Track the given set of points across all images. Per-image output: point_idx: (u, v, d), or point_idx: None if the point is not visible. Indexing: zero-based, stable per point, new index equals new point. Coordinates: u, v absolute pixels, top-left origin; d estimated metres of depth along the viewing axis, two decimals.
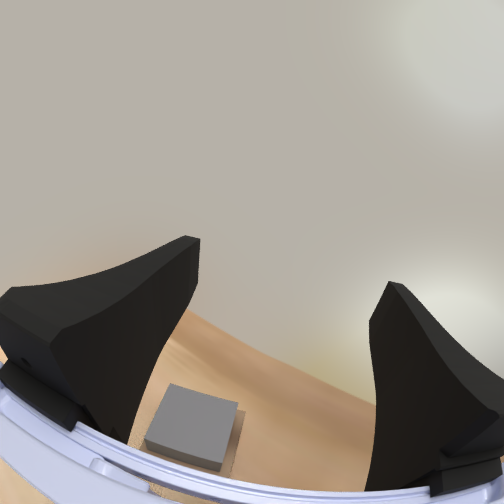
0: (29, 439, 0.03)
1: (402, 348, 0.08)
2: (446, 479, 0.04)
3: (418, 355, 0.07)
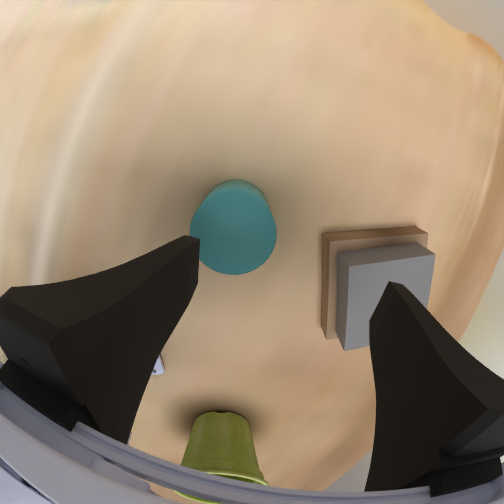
0: (29, 439, 0.03)
1: (401, 348, 0.08)
2: (446, 479, 0.04)
3: (418, 355, 0.07)
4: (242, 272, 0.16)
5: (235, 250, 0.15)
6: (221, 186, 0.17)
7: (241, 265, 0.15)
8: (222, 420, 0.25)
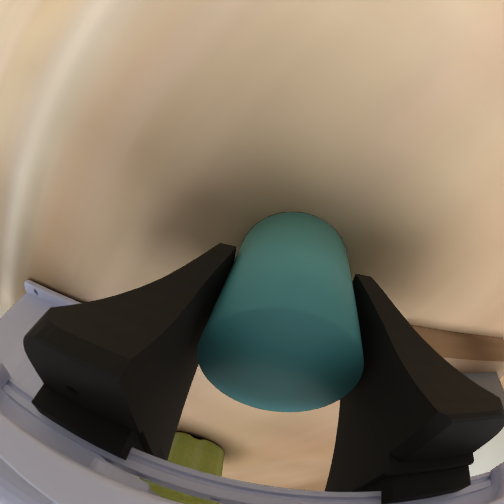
0: (29, 439, 0.03)
1: (363, 343, 0.08)
2: (398, 486, 0.04)
3: (377, 350, 0.07)
4: (273, 410, 0.08)
5: (273, 388, 0.08)
6: (285, 240, 0.09)
7: (275, 404, 0.08)
8: (195, 449, 0.21)
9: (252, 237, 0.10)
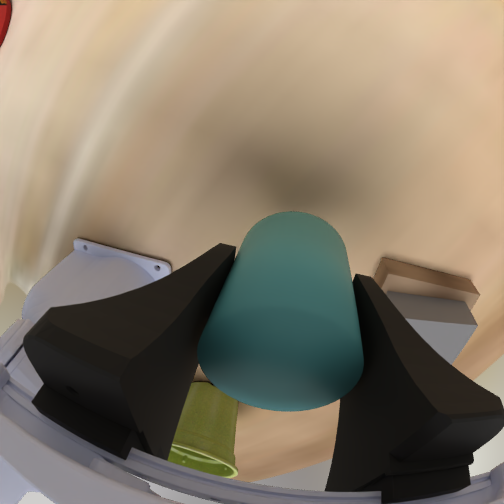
0: (29, 439, 0.03)
1: (364, 342, 0.08)
2: (398, 486, 0.04)
3: (377, 349, 0.07)
4: (273, 409, 0.08)
5: (273, 387, 0.08)
6: (285, 240, 0.09)
7: (275, 403, 0.08)
8: (214, 395, 0.26)
9: (252, 237, 0.10)
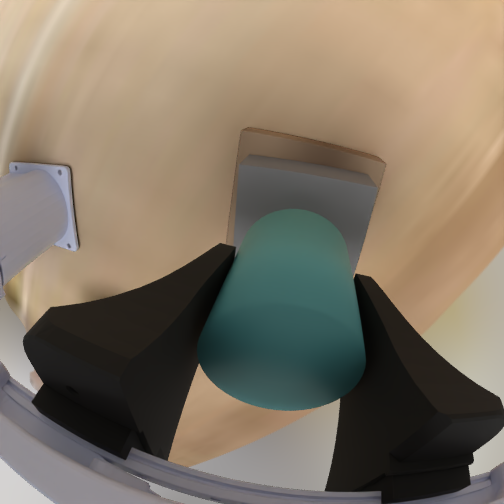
0: (29, 439, 0.03)
1: (364, 342, 0.08)
2: (398, 486, 0.04)
3: (377, 349, 0.07)
4: (276, 408, 0.08)
5: (274, 386, 0.07)
6: (284, 237, 0.09)
7: (277, 402, 0.08)
8: None
9: (251, 235, 0.10)
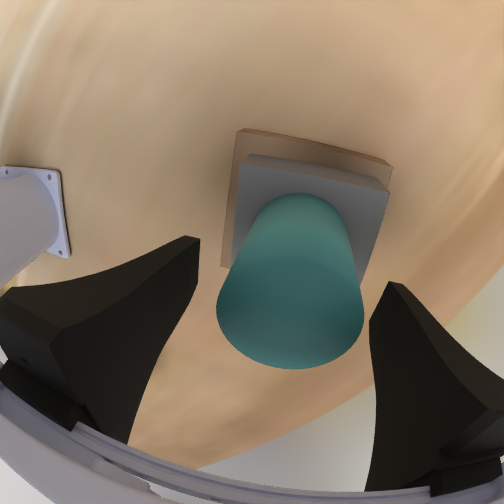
0: (29, 439, 0.03)
1: (402, 348, 0.08)
2: (446, 479, 0.04)
3: (418, 355, 0.07)
4: (284, 367, 0.09)
5: (284, 341, 0.09)
6: (291, 212, 0.10)
7: (286, 360, 0.09)
8: None
9: (262, 213, 0.11)
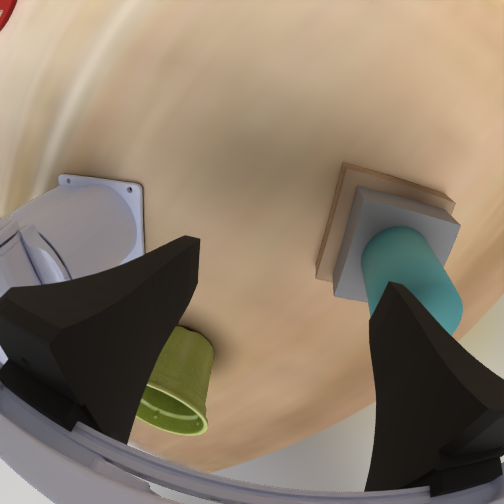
0: (29, 439, 0.03)
1: (402, 348, 0.08)
2: (446, 479, 0.04)
3: (418, 355, 0.07)
4: None
5: None
6: (412, 246, 0.13)
7: None
8: (186, 338, 0.26)
9: (384, 242, 0.14)
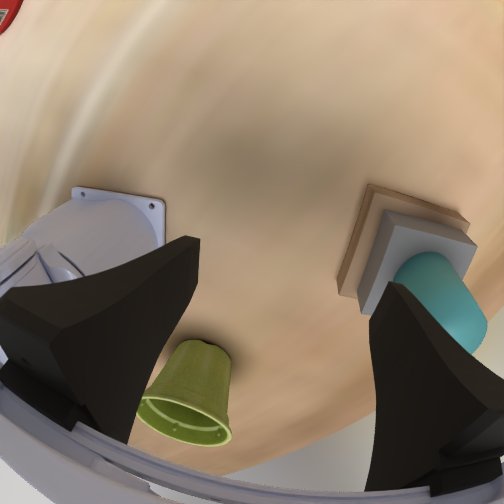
0: (29, 439, 0.03)
1: (402, 348, 0.08)
2: (446, 479, 0.04)
3: (418, 355, 0.07)
4: None
5: None
6: (442, 273, 0.13)
7: None
8: (206, 351, 0.27)
9: (416, 270, 0.14)
